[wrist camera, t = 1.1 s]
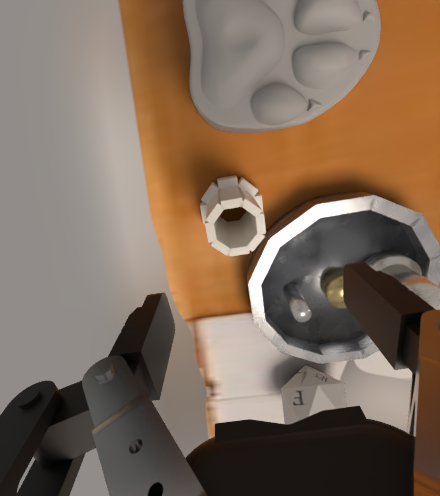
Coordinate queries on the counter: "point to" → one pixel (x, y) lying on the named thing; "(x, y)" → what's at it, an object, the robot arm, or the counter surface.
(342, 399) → the die
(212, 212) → the flanged octagonal tube
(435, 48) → the counter surface
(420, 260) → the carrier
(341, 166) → the counter surface
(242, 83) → the paw print stamp
